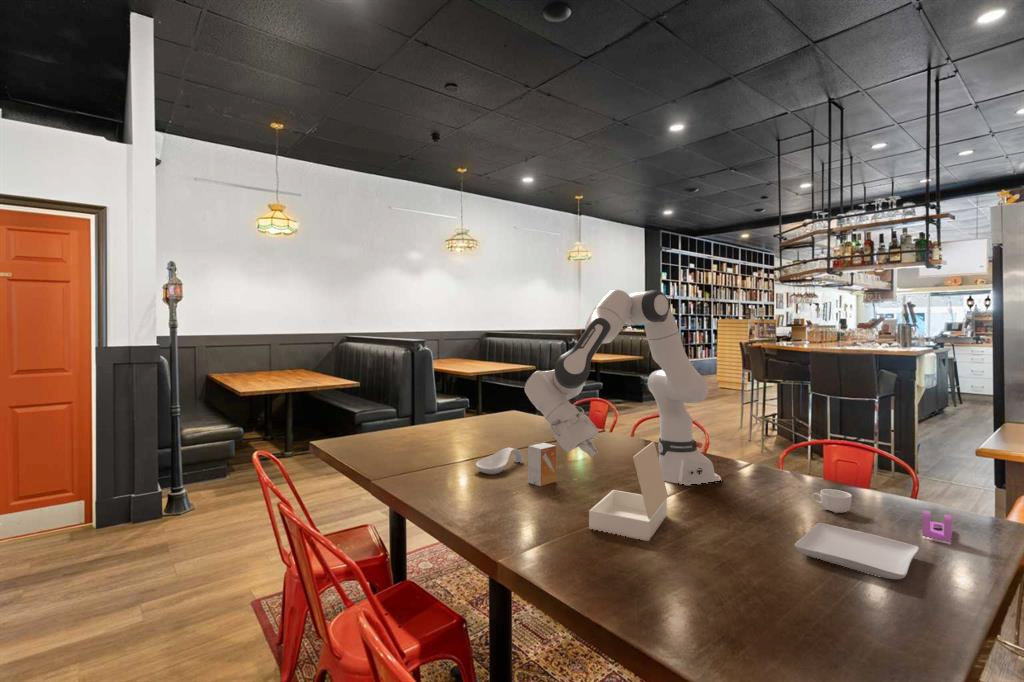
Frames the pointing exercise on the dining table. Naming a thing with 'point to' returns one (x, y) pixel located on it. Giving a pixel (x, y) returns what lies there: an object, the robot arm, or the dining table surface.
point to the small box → (541, 464)
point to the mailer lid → (650, 479)
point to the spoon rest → (498, 461)
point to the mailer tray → (625, 516)
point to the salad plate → (858, 550)
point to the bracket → (929, 525)
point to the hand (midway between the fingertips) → (594, 454)
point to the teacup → (834, 500)
